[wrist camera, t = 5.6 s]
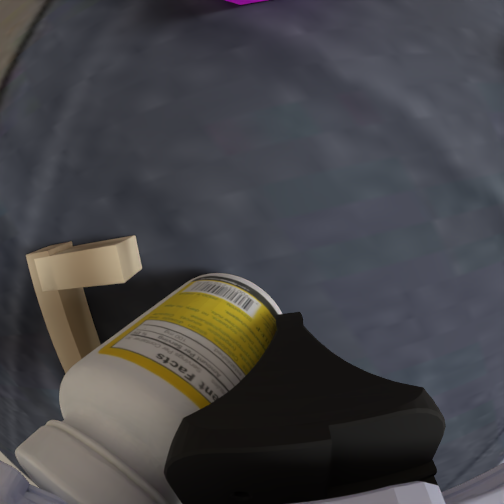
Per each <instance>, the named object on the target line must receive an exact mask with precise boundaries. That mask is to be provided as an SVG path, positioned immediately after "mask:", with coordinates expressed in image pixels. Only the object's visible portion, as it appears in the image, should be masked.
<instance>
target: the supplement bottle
mask: <svg viewBox="0 0 504 504" xmlns="http://www.w3.org/2000/svg"><path fill="white" fill-rule="evenodd" d="M278 314H282V312H281V311H280V309H279V307H278V306H277V304H276V303H275V302H274V300H273V299H272V298H271V297H270V296H269V295H268V294H267V293H266V292H265V291H264V290H262V289H261V288H260V287H258V286H257V285H255V284H254V283H252V282H250V281H248V280H246V279H244V278H241V277H238V276H235V275H231V274H225V273H210V274H205V275H201V276H198V277H196V278H193V279H192V280H190V281H188V282H186V283H185V284H184V285H182V286H181V287H179V288H178V289H177V290H175V291H174V292H172V293H171V294H170V295H168V296H167V297H165V298H164V299H163V300H161V301H160V302H159V303H157V304H156V305H155V306H153V307H152V308H150V309H149V310H148V311H146V312H145V313H143V314H142V315H141V316H139V317H138V318H137V319H135V320H134V321H133V322H131V323H130V324H129V325H127V326H126V327H124V328H123V329H122V330H120V331H119V332H118V333H116V334H115V335H114V336H112V337H111V338H110V339H108V340H107V341H105V342H104V343H103V344H101V345H100V346H99V347H97V348H96V349H94V350H93V351H92V352H90V353H89V354H88V355H86V356H85V357H84V358H82V359H81V360H80V361H78V362H77V363H76V364H75V365H73V366H72V367H71V368H70V369H69V370H68V371H67V373H66V374H65V376H64V378H63V380H62V382H61V385H60V392H59V402H60V408H61V412H62V415H63V418H64V420H63V421H62V422H60V421H57V420H50V421H48V422H47V423H46V425H45V426H42V427H40V428H39V429H38V430H37V431H36V432H35V433H33V434H32V435H31V436H30V437H29V438H28V439H27V440H25V441H24V442H23V443H22V444H21V445H20V446H19V447H17V449H16V450H15V455H16V458H17V460H18V461H19V463H20V465H21V466H22V468H23V469H24V470H25V472H26V473H27V474H28V475H29V477H30V478H31V479H32V480H33V482H34V483H35V484H36V485H37V486H38V487H39V488H40V489H42V490H45V491H47V492H50V493H52V494H55V495H57V496H58V497H59V498H61V499H62V500H64V501H65V502H66V503H68V504H182V503H181V501H180V500H179V499H178V497H177V496H176V494H175V493H174V491H173V490H172V488H171V487H170V485H169V484H168V482H167V480H166V478H165V475H164V467H165V462H166V459H167V456H168V452H169V449H170V446H171V442H172V440H173V438H174V436H175V433H176V431H177V429H178V427H179V425H180V423H181V421H182V419H183V418H184V417H186V416H188V415H190V414H192V413H194V412H196V411H198V410H200V409H202V408H204V407H205V406H207V405H209V404H211V403H212V402H214V401H215V400H217V399H218V398H220V397H221V396H223V395H224V394H226V393H227V392H228V391H230V390H231V389H232V388H233V387H235V386H236V385H237V384H238V383H239V382H240V381H241V380H242V379H243V378H244V377H245V376H246V375H247V374H248V373H249V372H250V371H251V369H252V368H253V367H254V366H255V365H256V363H257V362H258V361H259V359H260V358H261V357H262V355H263V353H264V352H265V350H266V349H267V347H268V346H269V344H270V342H271V340H272V338H273V336H274V334H275V332H276V330H277V328H276V315H278Z"/></svg>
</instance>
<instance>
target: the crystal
mask: <svg viewBox="0 0 504 504" xmlns="http://www.w3.org/2000/svg"><path fill="white" fill-rule="evenodd" d="M225 1H229V2H232V3H236V4H239V5H243V4H248V3H254V2H260V1H267V0H225Z"/></svg>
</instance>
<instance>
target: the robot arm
mask: <svg viewBox="0 0 504 504" xmlns="http://www.w3.org/2000/svg"><path fill="white" fill-rule="evenodd" d="M276 328H277V330H276V332H275V334H274V336H273V338H272V340H271V342H270V344H269V346H268V347H267V349H266V350H265V352H264V353H263V355H262V357H261V358H260V359H259V361H258V362H257V363H256V365H255V366H254V367H253V368H252V369H251V371H250V372H249V373H248V374H247V375H246V376H245V377H244V378H243V379H242V380H241V381H240V382H239V383H238V384H237V385H236V386H235V387H233V388H232V389H231V390H230V391H228V392H227V393H226V394H224V395H223V396H221V397H220V398H218V399H217V400H215V401H214V402H212V403H211V404H209V405H207V406H205V407H204V408H202V409H200V410H198V411H196V412H194V413H192V414H190V415H188V416H186V417H184V418H183V419H182V421H181V423H180V425H179V427H178V429H177V431H176V433H175V436H174V438H173V440H172V442H171V446H170V449H169V452H168V456H167V459H166V462H165V467H164V475H165V478H166V480H167V482H168V484H169V485H170V487H171V488H172V490H173V491H174V493H175V494H176V496H177V497H178V499H179V500H180V501H181V503H182V504H504V463H502V464H501V465H499V466H497V467H495V468H493V469H491V470H489V471H487V472H486V473H484V474H482V475H480V476H478V477H475V478H473V479H471V480H469V481H467V482H465V483H463V484H460V485H458V486H456V487H453V488H451V489H449V490H446V491H444V492H441V491H440V489H439V486H438V484H437V482H436V480H435V477H434V475H435V474H436V473H437V469H436V466H435V464H434V462H433V460H432V459H433V457H434V455H435V453H436V450H437V448H438V446H439V444H440V442H441V439H442V437H443V434H444V430H445V420H444V417H443V415H442V413H441V412H440V410H439V408H438V407H437V405H436V404H435V402H434V401H433V399H432V398H431V397H430V396H429V394H428V393H427V392H426V391H425V389H424V388H423V387H418V386H413V385H408V384H403V383H399V382H394V381H391V380H388V379H385V378H382V377H379V376H376V375H373V374H371V373H368V372H366V371H364V370H362V369H360V368H358V367H356V366H353V365H352V364H350V363H348V362H346V361H344V360H343V359H341V358H340V357H338V356H337V355H335V354H334V353H332V352H331V351H330V350H329V349H327V348H326V347H325V346H324V345H322V344H321V343H320V342H319V341H318V340H317V339H316V338H315V337H314V336H313V335H312V334H311V333H310V332H309V331H308V330H307V329H306V328H305V327H304V325H303V318H302V315H301V313H300V312H295V313H287V314H278V315H276ZM0 504H68V503H66V502H65V501H64V500H62V499H61V498H59V497H58V496H57V495H55V494H52V493H50V492H47V491H45V490H42V489H40V488H37V487H35V486H33V485H30V484H29V482H28V481H27V480H26V478H25V477H24V476H23V475H22V474H21V473H20V472H19V471H18V470H16V469H15V468H13V467H12V466H10V465H8V464H6V463H4V462H2V461H0Z"/></svg>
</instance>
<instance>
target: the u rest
mask: <svg viewBox="0 0 504 504" xmlns="http://www.w3.org/2000/svg"><path fill="white" fill-rule="evenodd" d="M26 258H27V262H28V266H29V270H30V274H31V278H32V281H33V285H34V289H35V292H36V295H37V299H38V302H39V305H40V308H41V311H42V314H43V317H44V320H45V323H46V326H47V329H48V331H49V334H50V337H51V339H52V342H53V345H54V347H55V350H56V352H57V355H58V357H59V360H60V362H61V364H62V367H63V369H64V371H65V373H67V371H68V370H69V369H70V368H71V367H72V366H73V365H75V364H76V363H77V362H78V361H80V360H81V359H82V358H84V357H85V356H86V355H88V354H89V353H90V352H92V351H93V350H94V349H96V348H97V347H99V346H100V345H101V343H100V341H99V338H98V335H97V332H96V329H95V326H94V323H93V320H92V316H91V313H90V310H89V307H88V303H87V300H86V296H85V293H84V289H83V287H91V286H100V285H109V284H118V283H125V282H126V281H127V280H129V279H130V278H131V277H132V276H134V275H135V274H136V273H137V272H139V271H140V270H141V269H142V265H141V260H140V256H139V251H138V246H137V241H136V236H135V235H134V236H128V237H122V238H116V239H110V240H105V241H99V242H93V243H88V244H82V245H77V246H73V245H72V241H70V242H65V243H60V244H55V245H50V246H48V247H45V248H42V249H40V250H37V251H35V252H32V253H30V254H27V255H26Z"/></svg>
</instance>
